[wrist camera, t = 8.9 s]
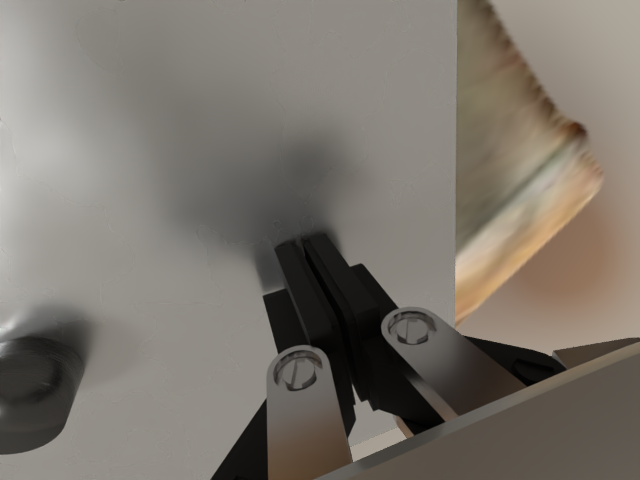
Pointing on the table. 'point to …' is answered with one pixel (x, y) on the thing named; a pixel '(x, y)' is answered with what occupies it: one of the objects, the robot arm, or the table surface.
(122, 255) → the lid
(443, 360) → the robot arm
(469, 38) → the table surface
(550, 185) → the table surface
